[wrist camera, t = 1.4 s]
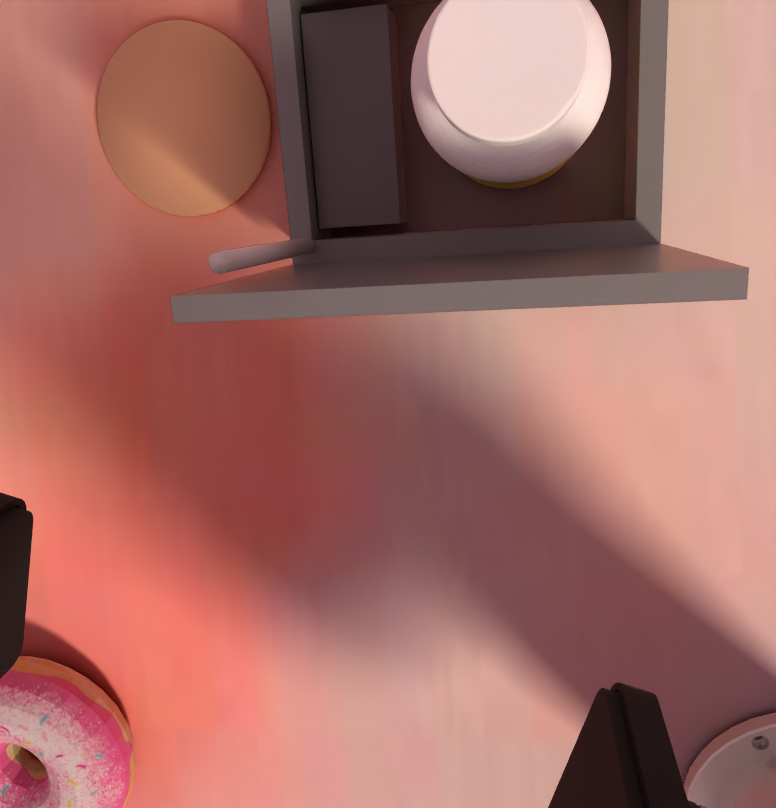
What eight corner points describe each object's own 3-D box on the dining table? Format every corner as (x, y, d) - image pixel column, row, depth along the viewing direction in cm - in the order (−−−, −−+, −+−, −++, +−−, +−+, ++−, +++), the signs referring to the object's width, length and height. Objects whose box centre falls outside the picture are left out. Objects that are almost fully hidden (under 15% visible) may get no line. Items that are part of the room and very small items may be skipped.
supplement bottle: (612, 143, 32) (668, 105, 20) (479, 215, 34) (457, 221, 22) (547, 1, 31) (565, -132, 19) (414, 84, 33) (352, 12, 20)
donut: (146, 657, 45) (101, 710, 40) (156, 824, 48) (117, 891, 44) (-43, 628, 47) (-106, 675, 42) (-18, 789, 51) (-74, 850, 46)
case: (654, -54, 30) (786, -310, 15) (645, 257, 33) (746, 299, 18) (289, -6, 33) (100, -178, 18) (315, 274, 36) (173, 322, 21)
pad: (260, 10, 33) (257, 8, 33) (280, 209, 35) (278, 210, 35) (87, 33, 35) (82, 31, 34) (117, 221, 37) (113, 221, 37)
